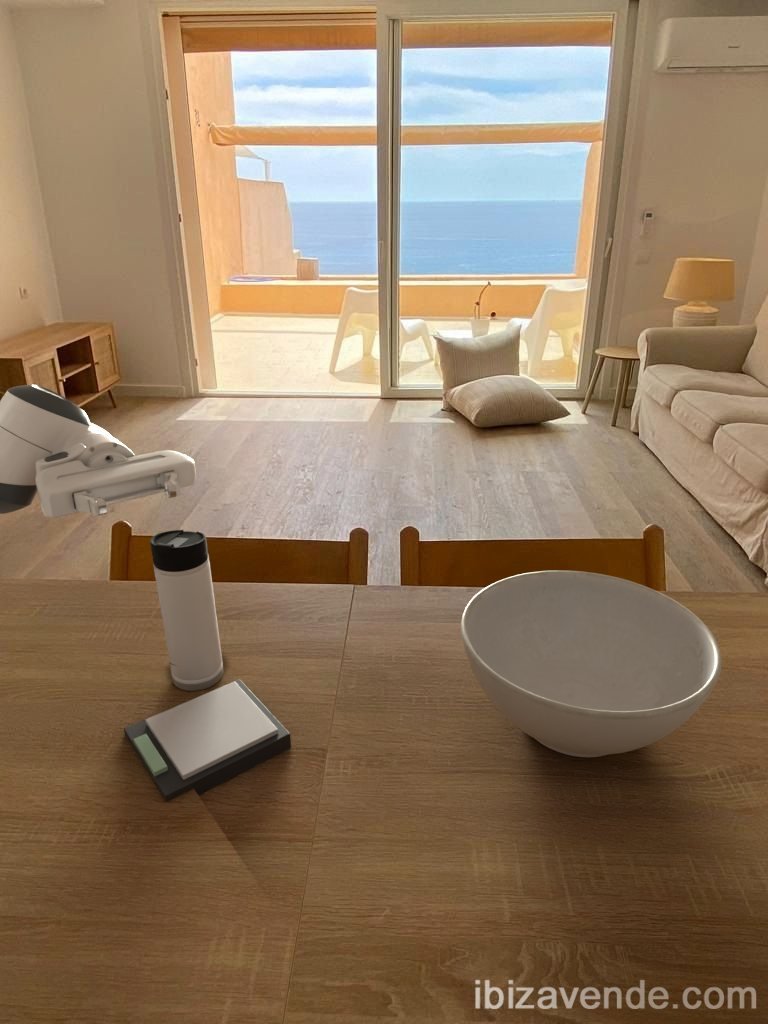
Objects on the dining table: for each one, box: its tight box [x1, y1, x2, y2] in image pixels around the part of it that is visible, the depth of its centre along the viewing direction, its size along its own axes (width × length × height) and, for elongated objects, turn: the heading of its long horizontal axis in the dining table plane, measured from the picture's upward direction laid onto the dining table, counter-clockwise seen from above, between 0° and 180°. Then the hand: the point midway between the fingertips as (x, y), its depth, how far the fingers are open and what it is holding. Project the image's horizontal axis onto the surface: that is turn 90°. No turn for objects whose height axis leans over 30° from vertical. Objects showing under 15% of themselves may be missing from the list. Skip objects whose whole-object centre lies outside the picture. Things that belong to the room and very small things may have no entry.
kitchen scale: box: [123, 679, 292, 803], centre depth 76 cm, size 14×12×3 cm
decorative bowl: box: [460, 570, 723, 758], centre depth 77 cm, size 27×27×12 cm
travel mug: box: [149, 529, 224, 692], centre depth 83 cm, size 6×7×20 cm
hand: (138, 500), depth 88 cm, fingers open, 8 cm apart
